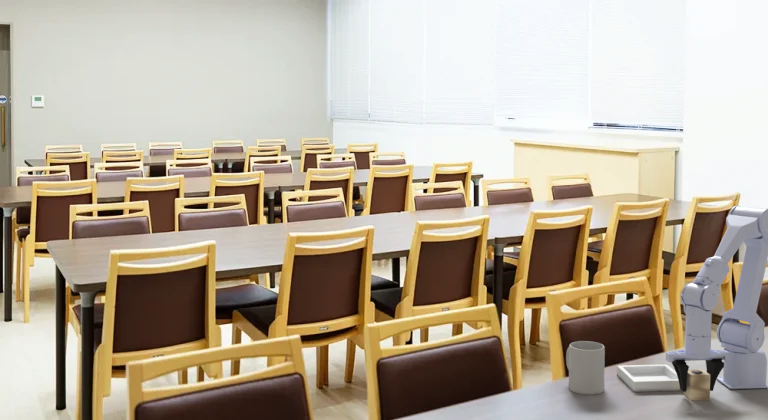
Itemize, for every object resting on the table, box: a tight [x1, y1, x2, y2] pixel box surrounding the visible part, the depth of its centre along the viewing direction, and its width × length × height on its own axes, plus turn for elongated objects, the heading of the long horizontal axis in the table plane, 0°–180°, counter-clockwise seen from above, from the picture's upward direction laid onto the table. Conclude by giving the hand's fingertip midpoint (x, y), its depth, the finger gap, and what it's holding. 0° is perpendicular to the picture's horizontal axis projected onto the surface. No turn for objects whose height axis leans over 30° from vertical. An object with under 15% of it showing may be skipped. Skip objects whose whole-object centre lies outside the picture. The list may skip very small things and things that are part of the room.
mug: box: [565, 340, 606, 396], centre depth 206 cm, size 12×8×11 cm
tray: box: [616, 364, 682, 393], centre depth 210 cm, size 13×13×2 cm
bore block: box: [682, 368, 711, 401], centre depth 199 cm, size 4×4×6 cm
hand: (696, 389), depth 199 cm, fingers open, 6 cm apart
